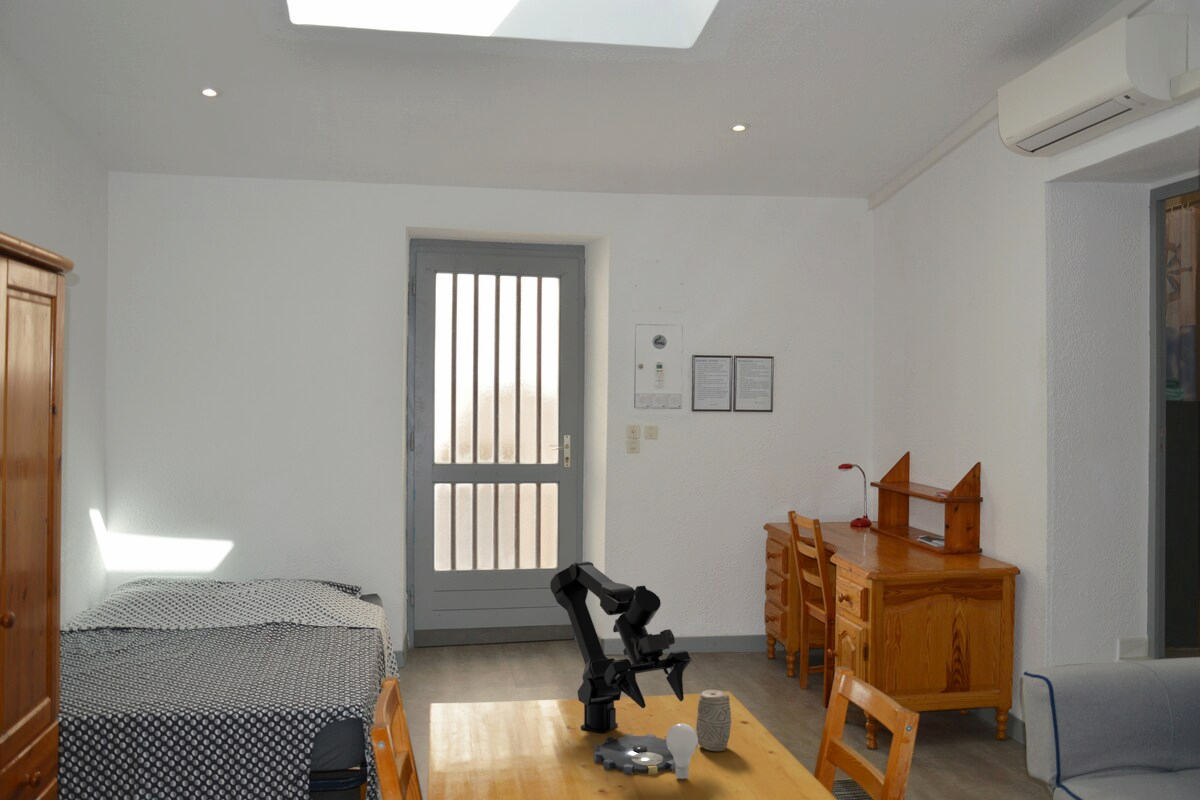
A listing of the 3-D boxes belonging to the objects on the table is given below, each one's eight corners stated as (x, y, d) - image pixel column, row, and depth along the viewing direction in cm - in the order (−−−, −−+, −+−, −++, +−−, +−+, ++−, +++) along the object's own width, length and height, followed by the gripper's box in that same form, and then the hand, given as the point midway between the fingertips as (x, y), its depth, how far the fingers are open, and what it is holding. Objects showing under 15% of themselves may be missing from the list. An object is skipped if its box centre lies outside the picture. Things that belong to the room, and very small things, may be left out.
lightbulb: (663, 773, 197) (663, 719, 197) (694, 772, 197) (694, 718, 197) (668, 786, 191) (668, 730, 191) (700, 785, 191) (700, 729, 191)
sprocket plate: (576, 762, 203) (576, 753, 203) (623, 734, 219) (623, 726, 219) (658, 782, 193) (658, 772, 193) (701, 751, 209) (701, 742, 209)
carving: (730, 754, 207) (730, 698, 207) (694, 752, 209) (694, 696, 209) (732, 744, 214) (732, 689, 214) (697, 741, 215) (697, 687, 215)
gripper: (610, 622, 200) (638, 690, 191) (686, 612, 209) (716, 676, 200) (592, 651, 207) (618, 718, 197) (666, 641, 216) (695, 704, 206)
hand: (663, 703), depth 200 cm, fingers open, 9 cm apart
